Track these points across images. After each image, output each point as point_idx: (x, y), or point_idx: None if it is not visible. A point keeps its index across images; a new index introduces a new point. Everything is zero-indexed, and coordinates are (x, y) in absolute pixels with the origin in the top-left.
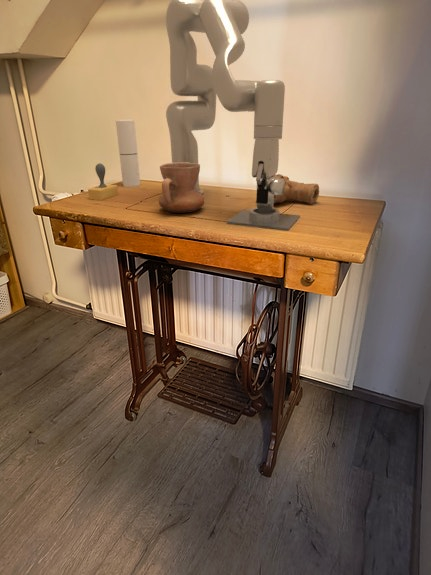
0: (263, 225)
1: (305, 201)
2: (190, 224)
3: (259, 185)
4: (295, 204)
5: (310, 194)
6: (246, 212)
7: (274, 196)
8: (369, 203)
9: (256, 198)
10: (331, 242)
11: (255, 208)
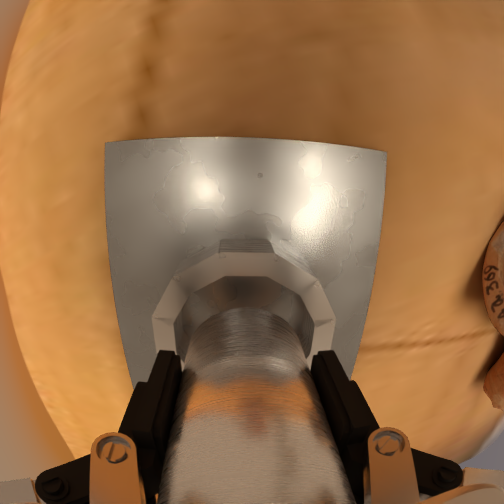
0: (123, 342)
1: (495, 365)
2: (66, 15)
3: (74, 475)
4: (492, 337)
5: (494, 399)
6: (335, 186)
7: (498, 302)
8: (463, 454)
9: (153, 367)
10: None
11: (286, 274)
